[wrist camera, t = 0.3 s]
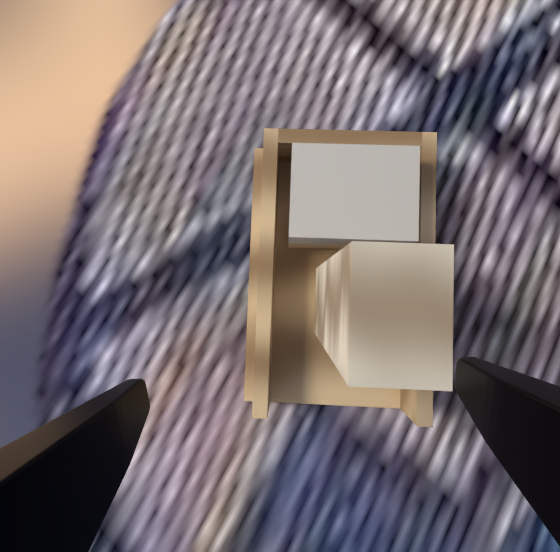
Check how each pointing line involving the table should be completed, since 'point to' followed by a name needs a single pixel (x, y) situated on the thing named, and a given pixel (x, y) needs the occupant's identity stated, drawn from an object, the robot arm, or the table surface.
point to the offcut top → (354, 193)
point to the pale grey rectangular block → (388, 314)
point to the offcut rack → (311, 284)
